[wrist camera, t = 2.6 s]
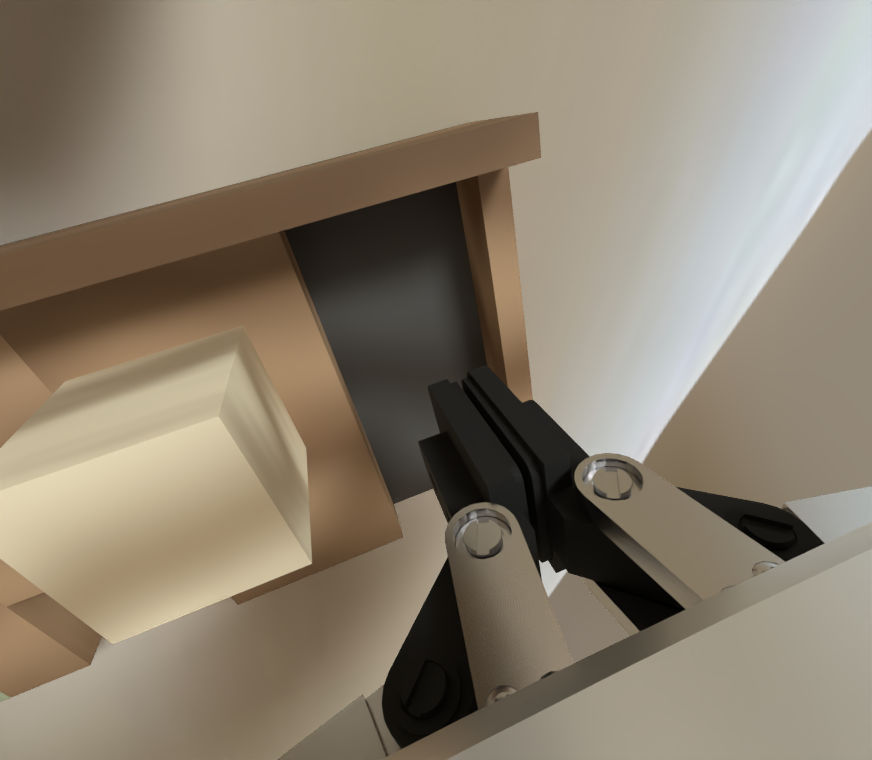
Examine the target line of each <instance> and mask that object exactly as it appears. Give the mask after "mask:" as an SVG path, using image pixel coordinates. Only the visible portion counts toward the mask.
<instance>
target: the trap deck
mask: <svg viewBox="0 0 872 760" xmlns="http://www.w3.org/2000/svg"><path fill="white" fill-rule="evenodd" d="M538 158H541V150H540V135H539V120H538V112H536V113H529V114H522V115H516V116H509V117H502V118H495V119H489V120H482V121H475V122H470V123H466V124H462V125H458V126H454V127H451V128H447V129H443V130H439V131H435V132H431V133H428V134H424V135H420V136H416V137H412V138H409V139H405V140H401V141H397V142H393V143H390V144H386V145H382V146H378V147H374V148H370V149H367V150H363V151H359V152H355V153H351V154H348V155H344V156H340V157H336V158H332V159H329V160H325V161H321V162H317V163H313V164H310V165H306V166H302V167H298V168H294V169H290V170H287V171H283V172H279V173H275V174H271V175H268V176H264V177H260V178H256V179H252V180H249V181H245V182H241V183H237V184H233V185H230V186H226V187H222V188H218V189H214V190H210V191H207V192H203V193H199V194H195V195H191V196H188V197H184V198H180V199H176V200H172V201H169V202H165V203H161V204H157V205H153V206H149V207H146V208H142V209H138V210H134V211H130V212H127V213H123V214H119V215H115V216H111V217H108V218H104V219H100V220H96V221H92V222H89V223H85V224H81V225H77V226H73V227H69V228H66V229H62V230H58V231H54V232H50V233H47V234H43V235H39V236H35V237H31V238H28V239H24V240H20V241H16V242H12V243H9V244H5V245H1V246H0V448H1V447H2V446H3V445H4V444H5V443H6V442H7V441H8V440H9V439H10V438H11V437H12V436H13V435H14V433H15V432H16V431H17V430H18V429H19V428H20V427H21V426H22V425H23V424H24V423H25V422H26V421H27V420H28V419H29V418H30V417H31V416H32V415H33V414H34V413H35V412H36V411H37V410H38V409H39V408H40V407H41V406H42V405H43V404H44V403H45V402H46V401H47V400H48V398H49V397H50V396H51V395H52V394H53V393H54V392H55V391H56V390H57V389H58V388H59V387H60V386H61V385H62V384H63V383H64V382H65V381H68V380H71V379H74V378H77V377H80V376H84V375H87V374H90V373H93V372H96V371H100V370H103V369H106V368H109V367H112V366H116V365H119V364H122V363H125V362H128V361H132V360H135V359H138V358H141V357H144V356H148V355H151V354H154V353H157V352H160V351H164V350H167V349H170V348H173V347H176V346H180V345H183V344H186V343H189V342H192V341H196V340H199V339H202V338H205V337H208V336H212V335H215V334H218V333H221V332H224V331H228V330H231V329H234V328H237V327H240V326H243V327H244V328H245V330H246V332H247V334H248V336H249V338H250V340H251V342H252V344H253V346H254V348H255V350H256V352H257V354H258V356H259V358H260V359H261V361H262V363H263V365H264V367H265V369H266V371H267V373H268V375H269V377H270V379H271V381H272V383H273V385H274V387H275V389H276V391H277V392H278V394H279V396H280V398H281V400H282V402H283V404H284V406H285V408H286V410H287V412H288V414H289V416H290V418H291V420H292V422H293V423H294V425H295V427H296V429H297V431H298V433H299V435H300V437H301V439H302V441H303V443H304V445H305V447H306V453H307V473H308V492H309V512H310V531H311V551H312V564H310V565H308V566H305V567H303V568H300V569H298V570H295V571H293V572H290V573H288V574H285V575H283V576H280V577H278V578H275V579H273V580H271V581H268V582H266V583H263V584H261V585H258V586H256V587H253V588H251V589H248V590H246V591H243V592H241V593H238V594H236V595H233V596H231V597H232V598H233V600H234V601H235V602H236V603H237V604H241V603H243V602H246V601H248V600H251V599H253V598H255V597H258V596H260V595H263V594H265V593H268V592H270V591H273V590H275V589H277V588H280V587H282V586H285V585H287V584H290V583H292V582H295V581H297V580H300V579H302V578H304V577H307V576H309V575H312V574H314V573H317V572H319V571H322V570H324V569H326V568H329V567H331V566H334V565H336V564H339V563H341V562H344V561H346V560H348V559H351V558H353V557H356V556H358V555H361V554H363V553H366V552H368V551H371V550H373V549H375V548H378V547H380V546H383V545H385V544H388V543H390V542H393V541H395V540H397V539H400V538H402V537H403V535H402V531H401V528H400V524H399V521H398V517H397V514H396V510H395V507H394V504H395V503H397V502H400V501H402V500H405V499H407V498H410V497H412V496H415V495H418V494H420V493H423V492H425V491H428V490H430V489H433V486H432V483H431V480H430V478H429V475H428V472H427V469H426V466H425V463H424V460H423V457H422V454H421V451H420V447H419V444H418V441H420V440H423V439H426V438H428V437H431V436H434V435H437V434H439V433H440V432H439V428H438V424H437V421H436V417H435V413H434V410H433V406H432V403H431V399H430V395H429V392H428V385H431V384H434V383H437V382H440V381H442V380H445V379H448V380H449V382H450V383H453V382H457V383H458V384H459V385H460V387H461V388H462V383H461V380H462V379H464V378H467V372H468V371H471V370H474V369H476V368H479V367H482V366H485V365H487V366H488V367H489V368H490V369H491V370H492V371H493V372H494V373H495V374H496V375H497V376H498V377H499V378H500V380H501V381H502V382H503V383H504V384H505V385H506V386H507V387H508V388H509V389H510V390H511V391H512V392H513V393H514V395H515V396H516V397H517V398H518V399H519V400H520V401H521V402H525V401H528V400H533V398H532V388H531V379H530V370H529V360H528V351H527V341H526V332H525V322H524V313H523V303H522V294H521V284H520V275H519V266H518V256H517V247H516V237H515V228H514V218H513V209H512V199H511V190H510V180H509V171H508V167H509V166H513V165H516V164H520V163H524V162H527V161H531V160H534V159H538ZM462 390H463V388H462ZM101 637H102V636H101V635H100V634H99V633H97V632H96V631H95V630H93V629H92V628H91V627H89V626H88V625H87V624H85V623H84V622H83V621H82V620H80V619H79V618H78V617H76V616H75V615H74V614H72V613H71V612H70V611H68V610H67V609H66V608H64V607H63V606H62V605H60V604H59V603H58V602H57V601H55V600H54V599H53V598H51V597H50V596H49V595H47V594H46V593H45V592H43V591H42V590H41V589H39V588H38V587H37V586H36V585H34V584H33V583H32V582H30V581H29V580H28V579H26V578H25V577H24V576H22V575H21V574H20V573H18V572H17V571H16V570H14V569H13V568H12V567H11V566H9V565H8V564H7V563H5V562H4V561H3V560H1V559H0V702H2V701H4V700H7V699H9V698H11V697H13V696H16V695H18V694H20V693H23V692H25V691H28V690H30V689H33V688H35V687H38V686H40V685H42V684H45V683H47V682H50V681H52V680H55V679H57V678H60V677H62V676H65V675H67V674H69V673H72V672H74V671H77V670H79V669H82V668H84V667H87V666H89V665H91V662H92V660H93V657H94V655H95V652H96V649H97V647H98V644H99V642H100V639H101Z"/></svg>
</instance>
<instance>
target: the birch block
mask: <svg viewBox="0 0 872 760" xmlns="http://www.w3.org/2000/svg"><path fill="white" fill-rule="evenodd" d="M0 559H1V560H3V561H4V562H5V563H7V564H8V565H9V566H11V567H12V568H13V569H14V570H16V571H17V572H18V573H20V574H21V575H22V576H24V577H25V578H26V579H28V580H29V581H30V582H32V583H33V584H34V585H36V586H37V587H38V588H39V589H41V590H42V591H43V592H45V593H46V594H47V595H49V596H50V597H51V598H53V599H54V600H55V601H57V602H58V603H59V604H60V605H62V606H63V607H64V608H66V609H67V610H68V611H70V612H71V613H72V614H74V615H75V616H76V617H78V618H79V619H80V620H82V621H83V622H84V623H85V624H87V625H88V626H89V627H91V628H92V629H93V630H95V631H96V632H97V633H99V634H100V635H101V636H103V637H104V638H105V639H107V640H108V641H109V642H110V643H112V644H115V643H117V642H120V641H122V640H125V639H127V638H130V637H132V636H135V635H137V634H140V633H142V632H144V631H147V630H149V629H152V628H154V627H157V626H159V625H162V624H164V623H167V622H169V621H172V620H174V619H177V618H179V617H182V616H184V615H187V614H189V613H191V612H194V611H196V610H199V609H201V608H204V607H206V606H209V605H211V604H214V603H216V602H219V601H221V600H224V599H226V598H229V597H231V596H233V595H236V594H238V593H241V592H243V591H246V590H248V589H251V588H253V587H256V586H258V585H261V584H263V583H266V582H268V581H271V580H273V579H275V578H278V577H280V576H283V575H285V574H288V573H290V572H293V571H295V570H298V569H300V568H303V567H305V566H308V565H310V564H312V551H311V531H310V512H309V492H308V473H307V453H306V447H305V445H304V443H303V441H302V439H301V437H300V435H299V433H298V431H297V429H296V427H295V425H294V423H293V422H292V420H291V418H290V416H289V414H288V412H287V410H286V408H285V406H284V404H283V402H282V400H281V398H280V396H279V394H278V392H277V391H276V389H275V387H274V385H273V383H272V381H271V379H270V377H269V375H268V373H267V371H266V369H265V367H264V365H263V363H262V361H261V359H260V358H259V356H258V354H257V352H256V350H255V348H254V346H253V344H252V342H251V340H250V338H249V336H248V334H247V332H246V330H245V328H244V327H243V326H240V327H237V328H234V329H231V330H228V331H224V332H221V333H218V334H215V335H212V336H208V337H205V338H202V339H199V340H196V341H192V342H189V343H186V344H183V345H180V346H176V347H173V348H170V349H167V350H164V351H160V352H157V353H154V354H151V355H148V356H144V357H141V358H138V359H135V360H132V361H128V362H125V363H122V364H119V365H116V366H112V367H109V368H106V369H103V370H100V371H96V372H93V373H90V374H87V375H84V376H80V377H77V378H74V379H71V380H68V381H65V382H64V383H63V384H62V385H61V386H60V387H59V388H58V389H57V390H56V391H55V392H54V393H53V394H52V395H51V396H50V397H49V398H48V400H47V401H46V402H45V403H44V404H43V405H42V406H41V407H40V408H39V409H38V410H37V411H36V412H35V413H34V414H33V415H32V416H31V417H30V418H29V419H28V420H27V421H26V422H25V423H24V424H23V425H22V426H21V427H20V428H19V429H18V430H17V431H16V432H15V433H14V435H13V436H12V437H11V438H10V439H9V440H8V441H7V442H6V443H5V444H4V445H3V446H2V447H1V448H0Z"/></svg>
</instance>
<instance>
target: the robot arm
mask: <svg viewBox="0 0 872 760" xmlns="http://www.w3.org/2000/svg"><path fill="white" fill-rule="evenodd" d="M461 383H462V388H463V390H462V388H461V387H460V385H459V384H458V383H457V382H453V383H450V382H449V380H448V379H445V380H442V381H440V382H437V383H434V384H431V385H428V392H429V395H430V399H431V403H432V406H433V410H434V413H435V417H436V421H437V424H438V428H439V432H440V433H439V434H437V435H434V436H431V437H428V438H426V439H423V440H420V441H418V444H419V447H420V451H421V454H422V457H423V460H424V463H425V466H426V469H427V472H428V475H429V478H430V480H431V483H432V486H433V488H434V491H435V493H436V496H437V498H438V501H439V503H440V505H441V508H442V510H443V513H444V515H445V517H446V520H447V522H448V526H447V529H446V531H445V543H446V548H447V553H448V558H447V560H446V562H445V564H444V566H443V568H442V569H441V571H440V573H439V575H438V577H437V579H436V581H435V583H434V585H433V587H432V589H431V591H430V593H429V595H428V597H427V599H426V601H425V603H424V604H423V606H422V608H421V610H420V612H419V614H418V616H417V618H416V620H415V622H414V624H413V626H412V628H411V630H410V632H409V634H408V636H407V638H406V639H405V641H404V643H403V645H402V647H401V649H400V651H399V653H398V655H397V657H396V659H395V661H394V663H393V665H392V667H391V669H390V671H389V673H388V676H387V678H386V681H385V684H384V685H383V686H381V687H380V688H379V689H378V690H376V691H375V692H374V693H372V694H371V695H370V696H369V697H367V698H366V699H365V697H364V696H363V694H362V695H361V696H360V697H358V698H357V699H356V700H355V701H353V702H352V703H351V704H349V705H348V706H347V707H345V708H344V709H343V710H341V711H340V712H339V713H338V714H336V715H335V716H334V717H332V718H331V719H330V720H328V721H327V722H326V723H325V724H323V725H322V726H321V727H319V728H318V729H317V730H315V731H314V732H313V733H311V734H310V735H309V736H308V737H306V738H305V739H304V740H302V741H301V742H300V743H298V744H297V745H296V746H294V747H293V748H292V749H291V750H289V751H288V752H287V753H285V754H284V755H283V756H281V757H280V758H279V759H278V760H872V486H871V487H866V488H860V489H854V490H849V491H844V492H839V493H833V494H827V495H822V496H817V497H811V498H806V499H800V500H796V501H790V502H784V504H783V507H782V508H781V509H780V508H778V507H774V506H771V505H767V504H764V503H759V502H754V501H748V500H743V499H738V498H732V497H727V496H722V495H716V494H711V493H706V492H700V491H695V490H690V489H684V488H679V487H675V486H673V485H672V484H670V483H669V482H667V481H666V480H664V479H663V478H661V477H660V476H659V475H657V474H656V473H654V472H653V471H651V470H650V469H648V468H647V467H645V466H644V465H642V464H641V463H639V462H638V461H636V460H634V459H632V458H630V457H627V456H623V455H620V454H611V453H604V454H597V455H593V456H591V457H590V456H589V455H588V454H587V453H586V452H585V451H584V450H583V449H582V448H581V447H580V446H579V445H578V444H577V443H576V442H575V441H574V440H573V439H572V438H571V437H570V436H569V435H568V434H567V433H566V432H565V431H564V430H563V429H562V428H561V427H560V426H559V425H558V424H557V423H556V422H555V421H554V420H553V419H552V418H551V417H550V416H549V415H548V414H547V413H546V412H545V411H544V410H543V409H542V408H541V407H540V406H539V405H538V404H537V403H536V402H535V401H533V400H528V401H525V402H521V401H520V400H519V399H518V398H517V397H516V396H515V395H514V393H513V392H512V391H511V390H510V389H509V388H508V387H507V386H506V385H505V384H504V383H503V382H502V381H501V380H500V378H499V377H498V376H497V375H496V374H495V373H494V372H493V371H492V370H491V369H490V368H489V367H488V366H487V365H485V366H482V367H479V368H476V369H474V370H471V371H468V372H467V378H464V379H462V380H461ZM539 560H540V561H541V562H542V563H543V562H545V561H547V560H548V561H549V563H550V564H551V566H552V567H553V569H554V570H555V572H556V573H558V572H560V571H562V570H564V569H566V570H567V571H568V573H571V574H574V575H578V576H580V577H582V581H583V583H584V584H585V585H586V587H587V588H588V590H589V591H590V592H591V593H592V594H593V595H594V597H595V598H596V599H597V600H598V601H599V602H600V603H601V604H602V605H603V607H604V608H605V609H606V610H607V611H608V612H609V613H610V615H611V616H612V617H613V618H614V619H615V620H616V621H617V622H618V623H619V624H620V626H621V627H622V628H623V629H624V630H625V631H626V632H627V634H628V635H629V636H630V637H628V638H626V639H624V640H622V641H620V642H617V643H615V644H613V645H611V646H609V647H607V648H605V649H603V650H601V651H599V652H597V653H595V654H593V655H591V656H588V657H586V658H584V659H582V660H580V661H578V662H576V663H574V661H573V659H572V656H571V654H570V651H569V649H568V646H567V644H566V641H565V639H564V636H563V634H562V631H561V629H560V626H559V624H558V621H557V619H556V616H555V613H554V611H553V609H552V606H551V603H550V601H549V598H548V596H547V593H546V591H545V588H544V586H543V583H542V579H541V572H540V565H539Z"/></svg>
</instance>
